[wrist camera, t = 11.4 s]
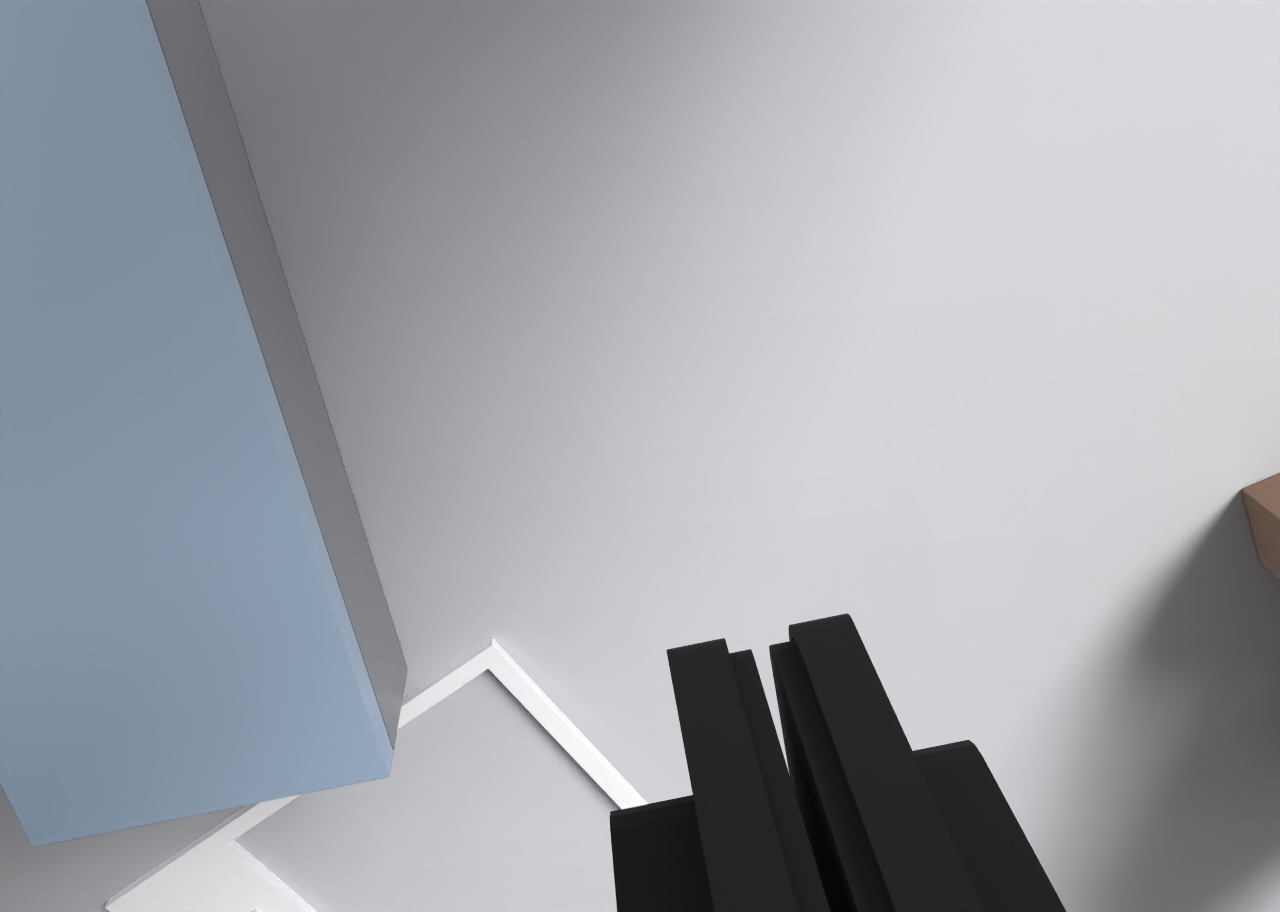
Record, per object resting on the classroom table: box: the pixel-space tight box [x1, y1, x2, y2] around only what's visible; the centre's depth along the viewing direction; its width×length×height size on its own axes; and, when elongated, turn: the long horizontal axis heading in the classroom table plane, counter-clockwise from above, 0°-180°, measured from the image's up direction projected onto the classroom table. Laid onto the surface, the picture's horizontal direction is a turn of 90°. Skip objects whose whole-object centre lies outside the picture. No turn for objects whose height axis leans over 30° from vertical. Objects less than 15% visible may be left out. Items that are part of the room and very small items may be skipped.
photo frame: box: [105, 638, 648, 912], centre depth 46 cm, size 15×1×18 cm
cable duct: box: [146, 0, 407, 750], centre depth 35 cm, size 26×11×4 cm, turn 10°
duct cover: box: [0, 0, 393, 847], centre depth 32 cm, size 26×12×2 cm, turn 10°
